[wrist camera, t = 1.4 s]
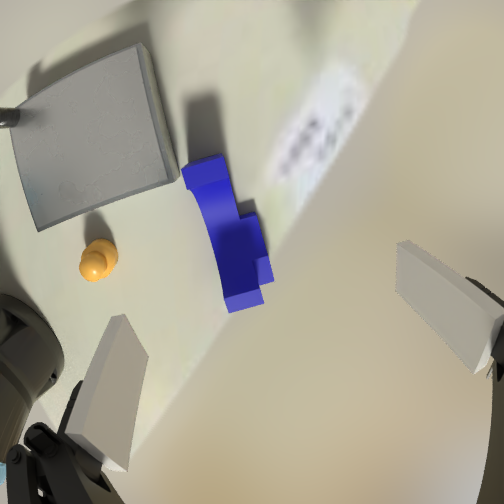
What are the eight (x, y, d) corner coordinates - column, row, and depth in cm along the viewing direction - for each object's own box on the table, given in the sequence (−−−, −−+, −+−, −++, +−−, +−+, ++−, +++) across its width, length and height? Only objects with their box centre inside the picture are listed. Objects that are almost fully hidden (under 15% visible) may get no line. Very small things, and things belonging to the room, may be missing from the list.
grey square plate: (55, 220, 23) (6, 255, 15) (28, 113, 18) (-30, 114, 10) (180, 175, 24) (162, 195, 16) (150, 54, 19) (121, 17, 11)
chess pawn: (96, 272, 26) (84, 289, 23) (83, 243, 25) (69, 257, 21) (123, 265, 26) (112, 282, 23) (110, 234, 25) (98, 248, 22)
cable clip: (268, 267, 29) (281, 298, 23) (225, 279, 28) (229, 313, 23) (237, 148, 24) (245, 151, 18) (188, 162, 24) (181, 169, 18)
